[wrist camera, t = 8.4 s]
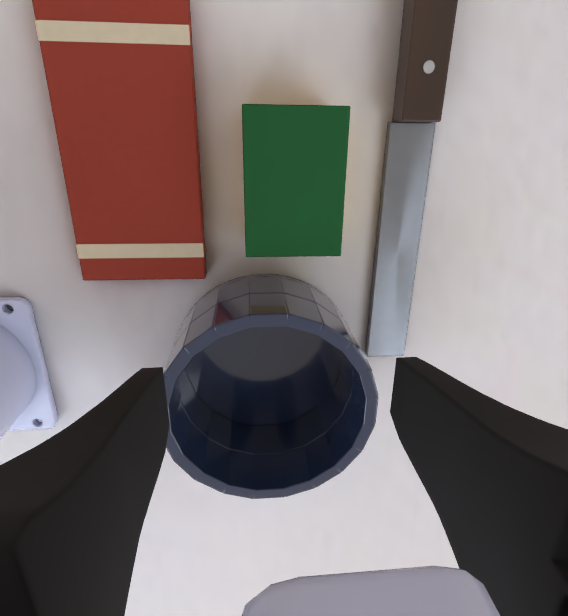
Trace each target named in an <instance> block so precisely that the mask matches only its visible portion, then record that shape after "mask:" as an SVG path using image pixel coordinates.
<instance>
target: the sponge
mask: <svg viewBox="0 0 568 616" xmlns="http://www.w3.org/2000/svg"><path fill="white" fill-rule="evenodd" d="M349 119H350V106H323V105H271V104H242V123H243V164H244V205H245V246H246V257H289V256H340V255H341V242H342V227H343V211H344V196H345V180H346V165H347V150H348V134H349Z"/></svg>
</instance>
